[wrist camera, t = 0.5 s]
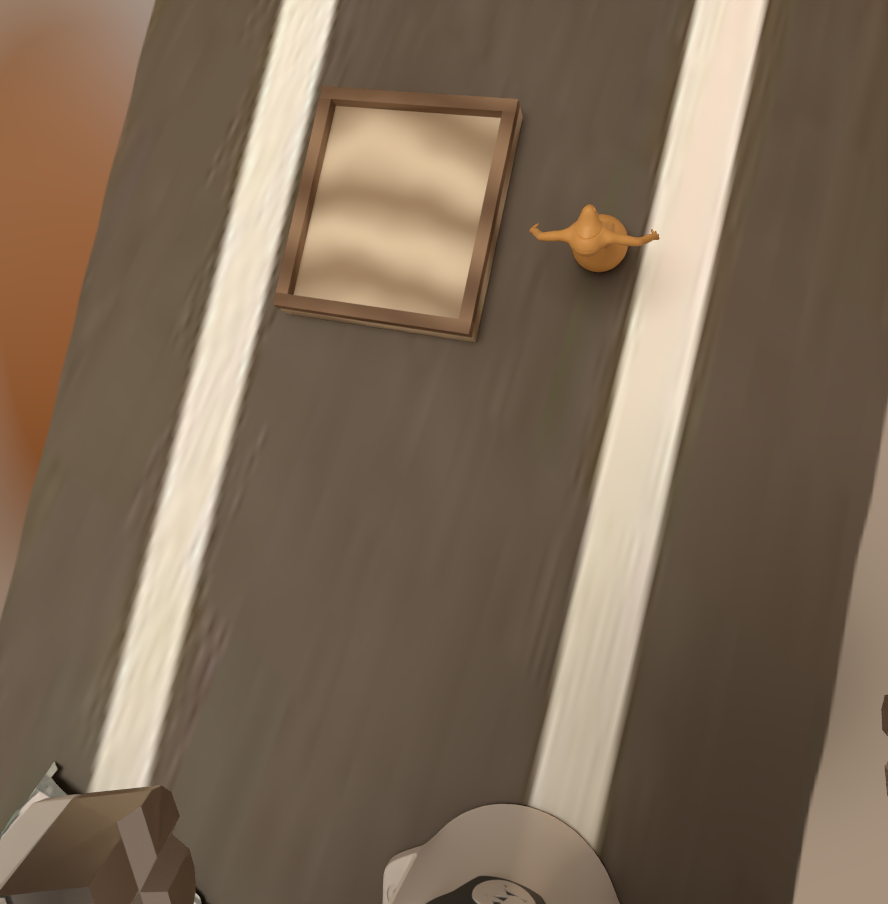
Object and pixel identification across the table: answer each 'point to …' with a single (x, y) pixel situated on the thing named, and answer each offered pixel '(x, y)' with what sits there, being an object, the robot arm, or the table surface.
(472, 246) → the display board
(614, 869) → the table surface
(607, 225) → the figurine
